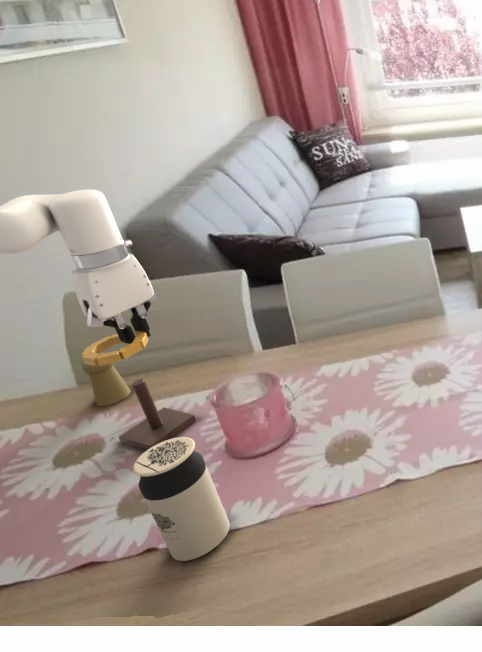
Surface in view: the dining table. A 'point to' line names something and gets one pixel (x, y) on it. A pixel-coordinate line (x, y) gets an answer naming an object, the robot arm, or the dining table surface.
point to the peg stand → (154, 421)
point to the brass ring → (95, 359)
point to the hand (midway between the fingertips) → (137, 338)
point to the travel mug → (182, 498)
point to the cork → (106, 384)
